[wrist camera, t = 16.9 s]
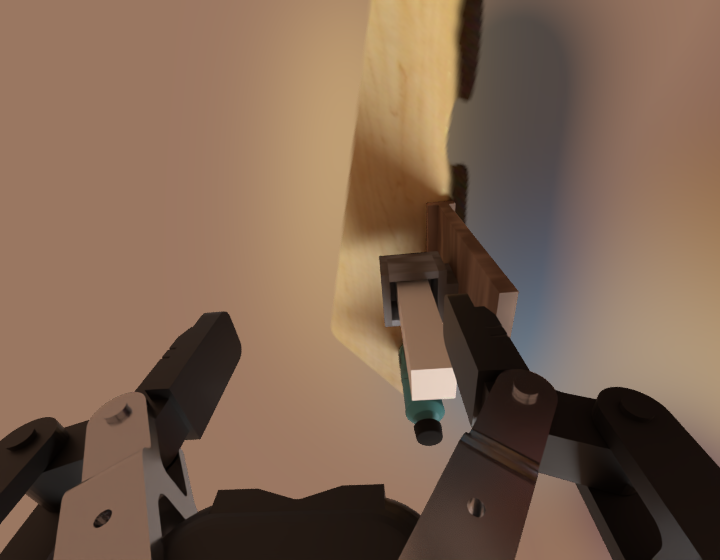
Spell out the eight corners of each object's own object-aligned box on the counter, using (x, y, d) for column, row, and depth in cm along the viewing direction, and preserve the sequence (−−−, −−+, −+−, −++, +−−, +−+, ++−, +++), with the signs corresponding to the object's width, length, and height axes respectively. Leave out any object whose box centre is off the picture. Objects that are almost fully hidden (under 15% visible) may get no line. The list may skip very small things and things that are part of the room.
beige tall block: (396, 295, 44) (412, 400, 29) (394, 271, 42) (411, 370, 27) (423, 293, 44) (455, 398, 28) (423, 268, 42) (457, 367, 26)
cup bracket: (382, 293, 56) (392, 422, 33) (375, 208, 48) (382, 302, 25) (448, 288, 55) (505, 416, 33) (452, 200, 47) (531, 290, 25)
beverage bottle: (423, 360, 64) (444, 455, 47) (392, 355, 64) (402, 449, 46) (433, 336, 61) (460, 430, 44) (401, 331, 60) (415, 423, 43)
